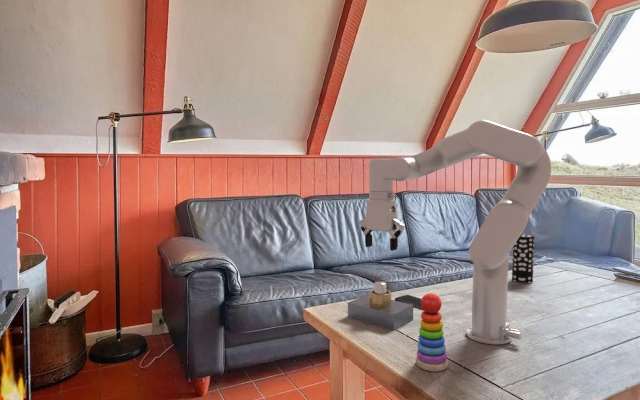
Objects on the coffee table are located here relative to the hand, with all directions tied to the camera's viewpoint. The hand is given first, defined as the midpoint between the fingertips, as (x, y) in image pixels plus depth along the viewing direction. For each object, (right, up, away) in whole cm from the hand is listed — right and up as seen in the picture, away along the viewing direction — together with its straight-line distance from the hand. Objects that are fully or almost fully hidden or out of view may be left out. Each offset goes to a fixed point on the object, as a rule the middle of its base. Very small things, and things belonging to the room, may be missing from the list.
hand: (381, 248), depth 142 cm
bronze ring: (0, -19, +1) cm, 19 cm away
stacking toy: (+8, -27, -32) cm, 43 cm away
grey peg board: (0, -24, +2) cm, 24 cm away
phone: (+15, -23, +18) cm, 33 cm away
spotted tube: (+69, -20, +48) cm, 86 cm away
